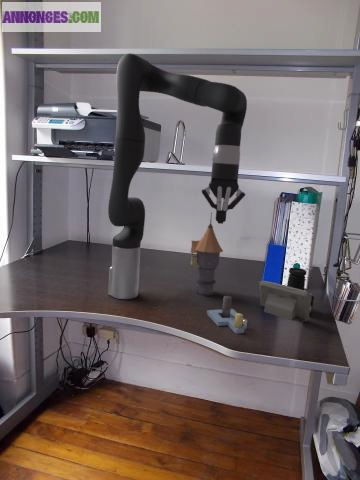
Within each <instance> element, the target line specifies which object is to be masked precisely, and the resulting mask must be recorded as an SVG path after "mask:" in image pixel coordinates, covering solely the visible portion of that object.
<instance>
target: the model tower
mask: <svg viewBox="0 0 360 480" xmlns="http://www.w3.org/2000/svg"><path fill="white" fill-rule="evenodd" d="M212 214H213V212H211V213H210V223H209V225H208V226H207V228H206V230H205V232H204V233H203V236H202V237H201V239H200V240H191V248H190V253H191V258H190V259H191V261H190V265H191V267H193V268H198V269H197V270H198V271H197V278H196V279H195V282H196V283H197V286H196V289H197V290H196V292H197V295H200V296H204V297H211V296H213V295H215V293H213V291H214V285H215V283H217V281H216V280H215V273H216V269H217V268H218V266H219V265H220V254H221V253H222V252H224V250H223V248H222V247H221V245H220V243H219V241H218V239H217V237H216V233H215V232H214V231H215V230H214V227H213V224H212V218H213V217H212V216H213V215H212ZM194 254H196V255H194Z"/></svg>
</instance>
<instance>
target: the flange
mask: <svg viewBox="0 0 360 480" xmlns="http://www.w3.org/2000/svg"><path fill="white" fill-rule="evenodd" d="M206 315H207V316H208V317H209V318H210V319H211V320H212V321H213V322H214V324H215V325H217V326H218V327H221V326H224V327H225V326H227V327H228V328H230V329H231V330H232V331H233V332H234V333H235V334H238V335H239V334H244V333H245V329H244V328H243V327H242V325H243V319H245V318H244V314H242V313H239V312H237V311H236V310H235V309H233V308H231V311H230V318H222V309H209V310H207V312H206Z"/></svg>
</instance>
